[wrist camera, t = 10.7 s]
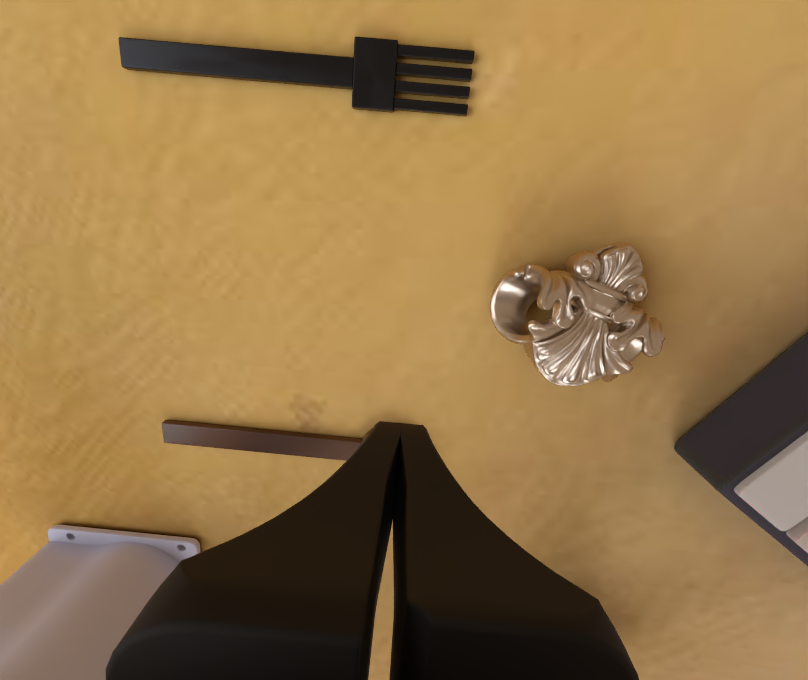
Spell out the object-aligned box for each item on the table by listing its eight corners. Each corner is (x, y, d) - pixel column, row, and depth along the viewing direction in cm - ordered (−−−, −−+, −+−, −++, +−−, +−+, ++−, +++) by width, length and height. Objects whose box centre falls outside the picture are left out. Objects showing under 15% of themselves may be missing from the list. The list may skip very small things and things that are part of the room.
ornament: (681, 274, 19) (738, 288, 16) (604, 393, 21) (639, 428, 18) (533, 205, 19) (558, 204, 15) (468, 334, 21) (477, 359, 17)
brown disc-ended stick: (169, 456, 24) (163, 462, 23) (163, 401, 22) (156, 406, 22) (419, 480, 23) (419, 487, 23) (425, 426, 22) (425, 432, 22)
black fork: (130, 89, 18) (123, 87, 17) (122, 19, 17) (115, 15, 17) (465, 119, 18) (467, 116, 17) (474, 50, 17) (475, 46, 16)
